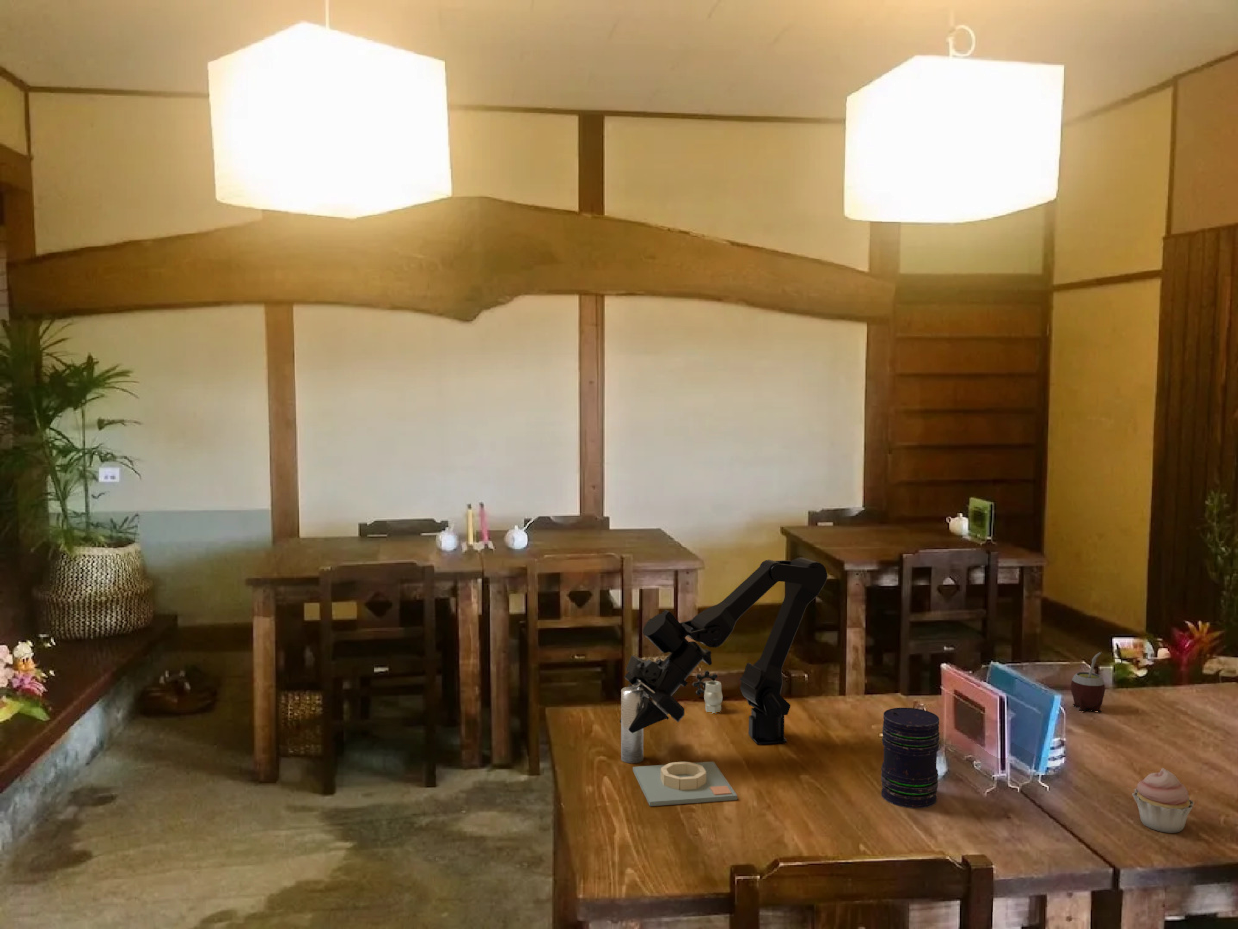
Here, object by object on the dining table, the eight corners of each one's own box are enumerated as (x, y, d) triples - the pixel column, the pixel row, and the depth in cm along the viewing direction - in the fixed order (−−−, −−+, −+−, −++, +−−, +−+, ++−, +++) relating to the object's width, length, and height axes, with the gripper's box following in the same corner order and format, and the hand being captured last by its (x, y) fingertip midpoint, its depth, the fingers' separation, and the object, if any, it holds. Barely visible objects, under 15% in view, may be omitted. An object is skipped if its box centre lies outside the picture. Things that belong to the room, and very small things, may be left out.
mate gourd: (1078, 702, 233) (1081, 639, 231) (1113, 711, 227) (1116, 646, 225) (1063, 709, 228) (1066, 644, 227) (1098, 718, 222) (1101, 652, 221)
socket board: (713, 765, 195) (713, 751, 194) (737, 799, 179) (737, 784, 179) (632, 771, 192) (632, 756, 192) (649, 806, 176) (649, 791, 176)
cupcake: (1127, 810, 175) (1130, 754, 174) (1188, 818, 172) (1191, 762, 171) (1133, 832, 166) (1136, 774, 166) (1197, 842, 163) (1200, 783, 162)
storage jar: (943, 793, 182) (945, 713, 181) (930, 813, 174) (932, 729, 172) (888, 781, 187) (890, 704, 186) (873, 800, 179) (875, 719, 177)
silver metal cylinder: (640, 754, 200) (641, 686, 199) (645, 762, 196) (645, 693, 195) (619, 755, 200) (619, 687, 198) (623, 764, 195) (623, 694, 194)
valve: (729, 714, 225) (720, 697, 236) (729, 685, 224) (720, 669, 236) (700, 714, 224) (692, 697, 236) (700, 686, 223) (692, 670, 235)
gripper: (633, 630, 206) (582, 688, 203) (670, 654, 188) (615, 718, 186) (668, 664, 209) (619, 721, 206) (707, 690, 192) (654, 753, 189)
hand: (625, 727), depth 197 cm, fingers closed on silver metal cylinder, 4 cm apart
